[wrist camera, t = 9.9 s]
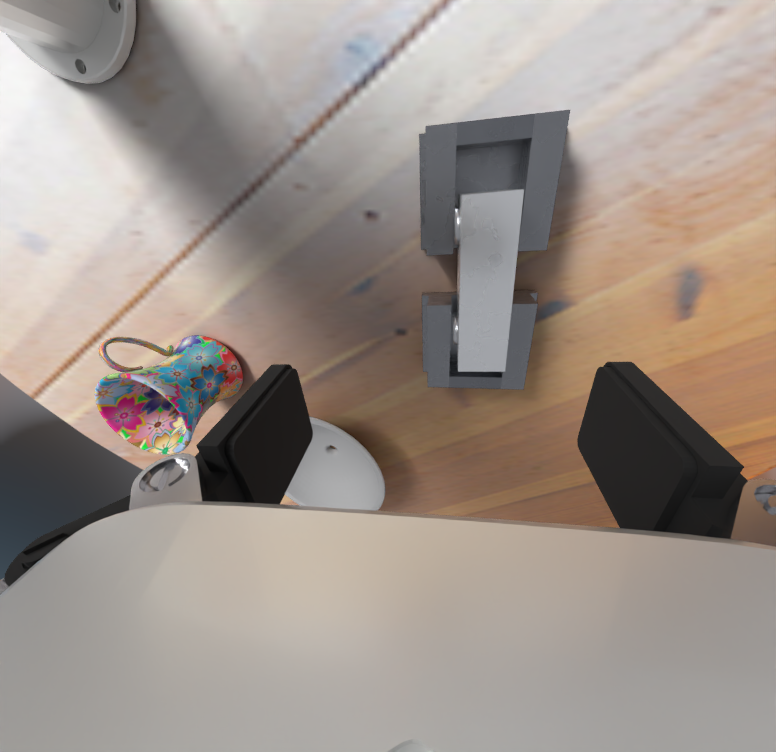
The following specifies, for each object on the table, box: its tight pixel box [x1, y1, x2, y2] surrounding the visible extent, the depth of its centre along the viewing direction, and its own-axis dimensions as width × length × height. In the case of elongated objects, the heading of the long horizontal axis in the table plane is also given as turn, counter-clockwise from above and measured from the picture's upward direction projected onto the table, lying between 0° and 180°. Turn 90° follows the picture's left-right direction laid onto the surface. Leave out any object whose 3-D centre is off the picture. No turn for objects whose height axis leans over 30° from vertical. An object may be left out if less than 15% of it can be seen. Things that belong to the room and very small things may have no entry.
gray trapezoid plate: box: [453, 189, 524, 372], centre depth 25 cm, size 12×4×7 cm, turn 5°
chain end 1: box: [419, 110, 570, 255], centre depth 24 cm, size 8×10×4 cm
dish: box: [285, 416, 385, 511], centre depth 40 cm, size 18×14×5 cm
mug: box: [95, 335, 243, 455], centre depth 34 cm, size 12×9×11 cm
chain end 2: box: [422, 290, 538, 390], centre depth 30 cm, size 8×10×4 cm
